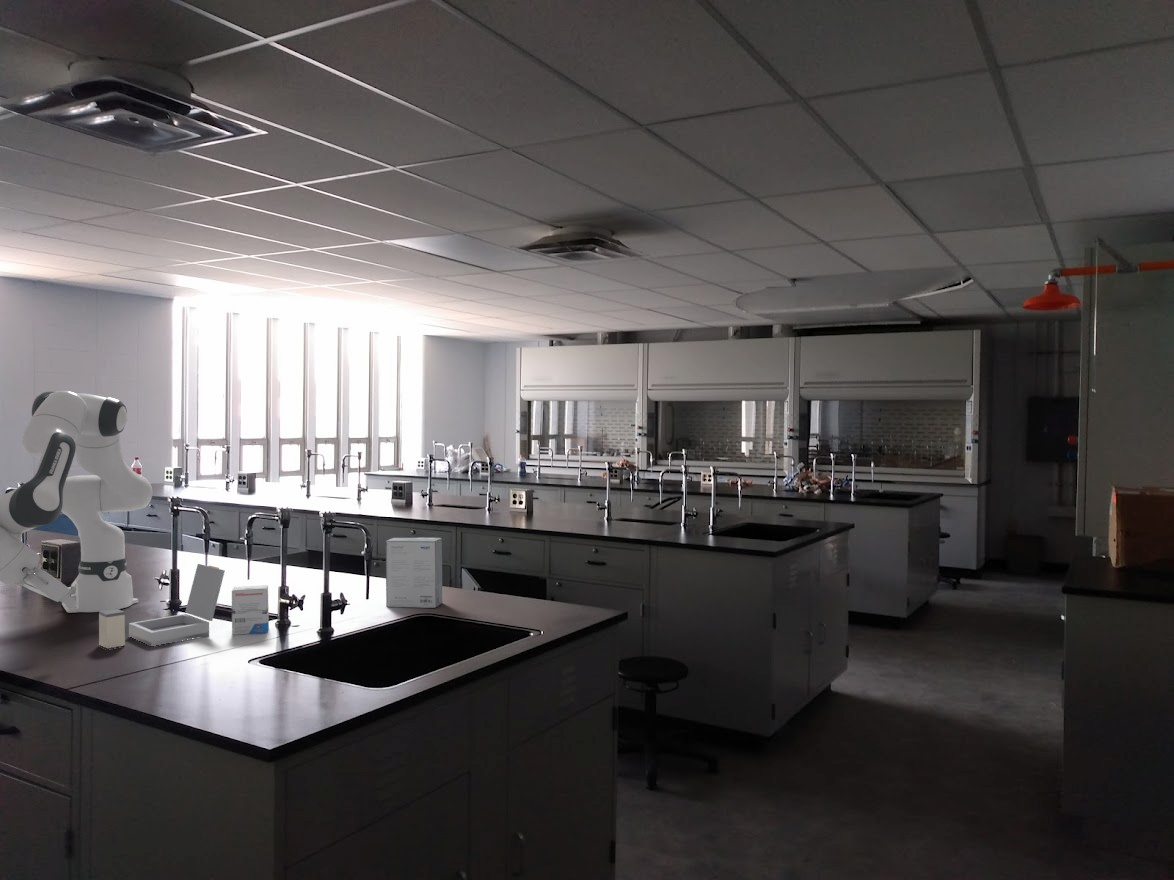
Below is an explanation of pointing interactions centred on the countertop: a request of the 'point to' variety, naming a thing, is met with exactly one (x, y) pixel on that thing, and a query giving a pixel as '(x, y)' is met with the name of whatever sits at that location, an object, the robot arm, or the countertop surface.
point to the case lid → (205, 591)
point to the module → (111, 628)
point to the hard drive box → (414, 572)
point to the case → (168, 629)
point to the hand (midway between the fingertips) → (66, 602)
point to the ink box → (250, 610)
